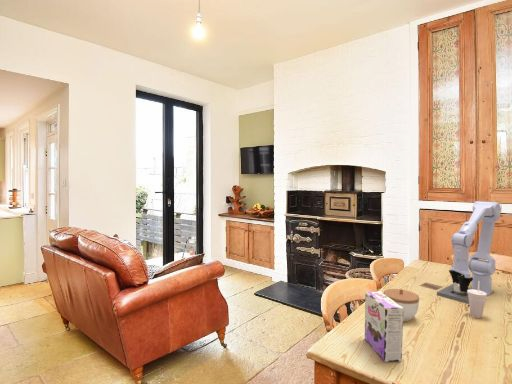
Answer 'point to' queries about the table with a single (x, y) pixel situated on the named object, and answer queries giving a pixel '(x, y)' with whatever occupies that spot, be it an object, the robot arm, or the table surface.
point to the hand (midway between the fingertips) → (459, 288)
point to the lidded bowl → (404, 301)
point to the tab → (431, 286)
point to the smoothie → (476, 301)
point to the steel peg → (458, 289)
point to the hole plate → (449, 294)
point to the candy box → (384, 326)
